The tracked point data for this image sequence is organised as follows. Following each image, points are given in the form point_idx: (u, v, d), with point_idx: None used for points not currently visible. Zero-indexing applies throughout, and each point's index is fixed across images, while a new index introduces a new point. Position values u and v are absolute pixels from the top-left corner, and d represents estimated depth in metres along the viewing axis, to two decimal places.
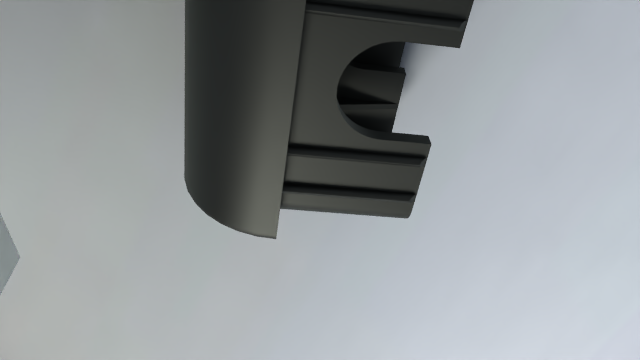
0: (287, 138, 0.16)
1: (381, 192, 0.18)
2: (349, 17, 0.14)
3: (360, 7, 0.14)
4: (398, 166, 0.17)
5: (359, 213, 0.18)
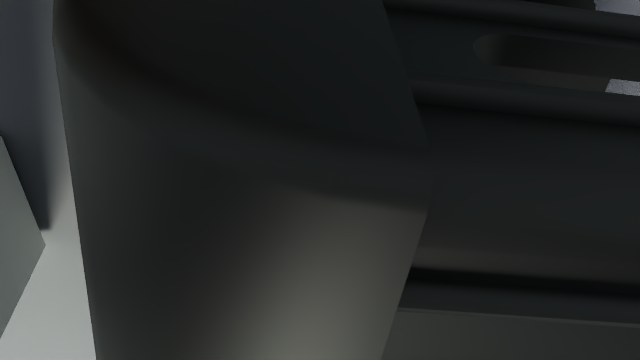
0: None
1: None
2: None
3: None
4: None
5: None
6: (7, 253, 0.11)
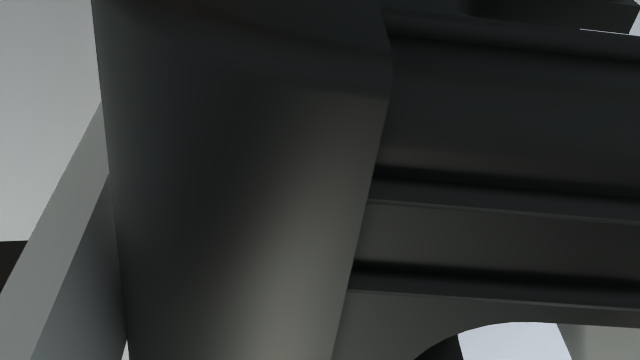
0: None
1: None
2: (431, 294, 0.07)
3: (455, 275, 0.07)
4: None
5: None
6: None
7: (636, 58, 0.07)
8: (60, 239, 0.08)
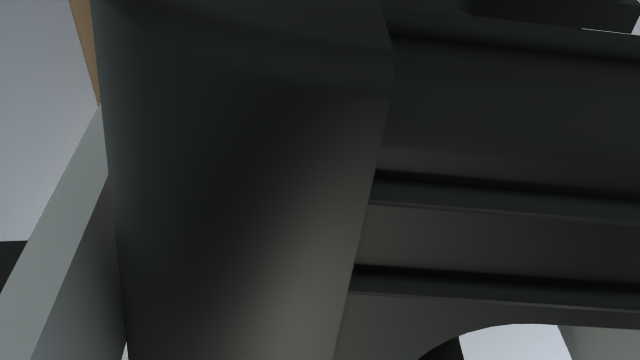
0: None
1: None
2: (433, 295, 0.07)
3: (456, 275, 0.07)
4: None
5: None
6: None
7: (639, 58, 0.07)
8: (60, 239, 0.08)
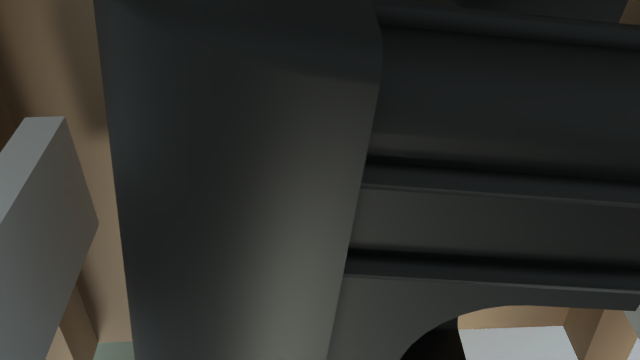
0: None
1: None
2: None
3: (449, 259, 0.07)
4: None
5: None
6: (70, 228, 0.11)
7: (622, 46, 0.07)
8: None
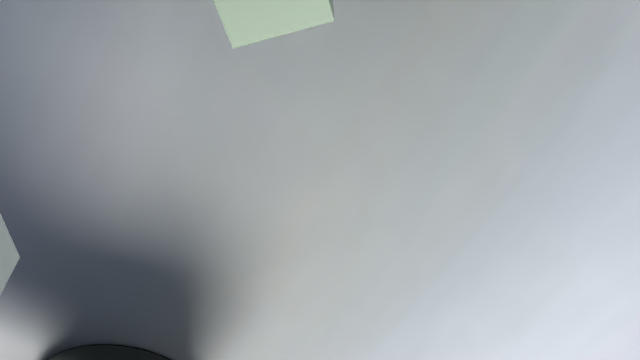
0: None
1: None
2: None
3: None
4: None
5: None
6: None
7: None
8: None
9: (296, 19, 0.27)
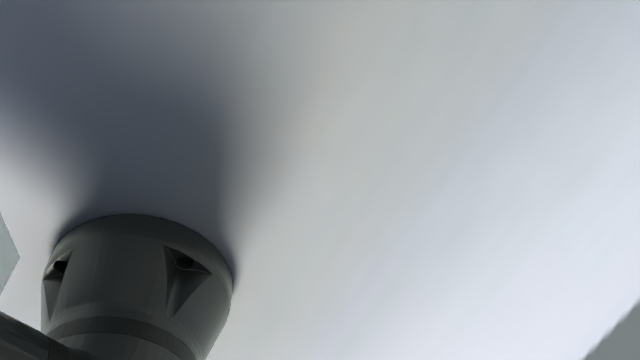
0: None
1: None
2: None
3: None
4: None
5: None
6: None
7: None
8: None
9: None
